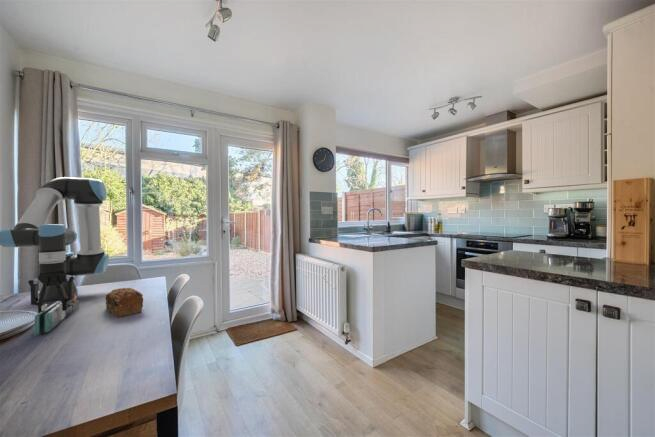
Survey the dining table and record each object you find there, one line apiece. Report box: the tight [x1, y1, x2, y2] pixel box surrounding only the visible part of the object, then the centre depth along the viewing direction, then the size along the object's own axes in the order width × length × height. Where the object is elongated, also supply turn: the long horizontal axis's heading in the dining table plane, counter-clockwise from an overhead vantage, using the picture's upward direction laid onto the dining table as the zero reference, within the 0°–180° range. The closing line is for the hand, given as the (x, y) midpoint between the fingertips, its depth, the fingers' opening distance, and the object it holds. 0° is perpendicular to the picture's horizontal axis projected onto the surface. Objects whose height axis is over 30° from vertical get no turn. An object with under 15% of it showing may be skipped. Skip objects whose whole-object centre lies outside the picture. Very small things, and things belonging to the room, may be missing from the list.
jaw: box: [44, 300, 71, 333], centre depth 108 cm, size 23×2×7 cm, turn 31°
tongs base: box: [34, 299, 80, 337], centre depth 111 cm, size 31×4×7 cm, turn 28°
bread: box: [105, 287, 144, 318], centre depth 123 cm, size 19×11×10 cm, turn 50°
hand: (53, 319), depth 107 cm, fingers open, 4 cm apart
